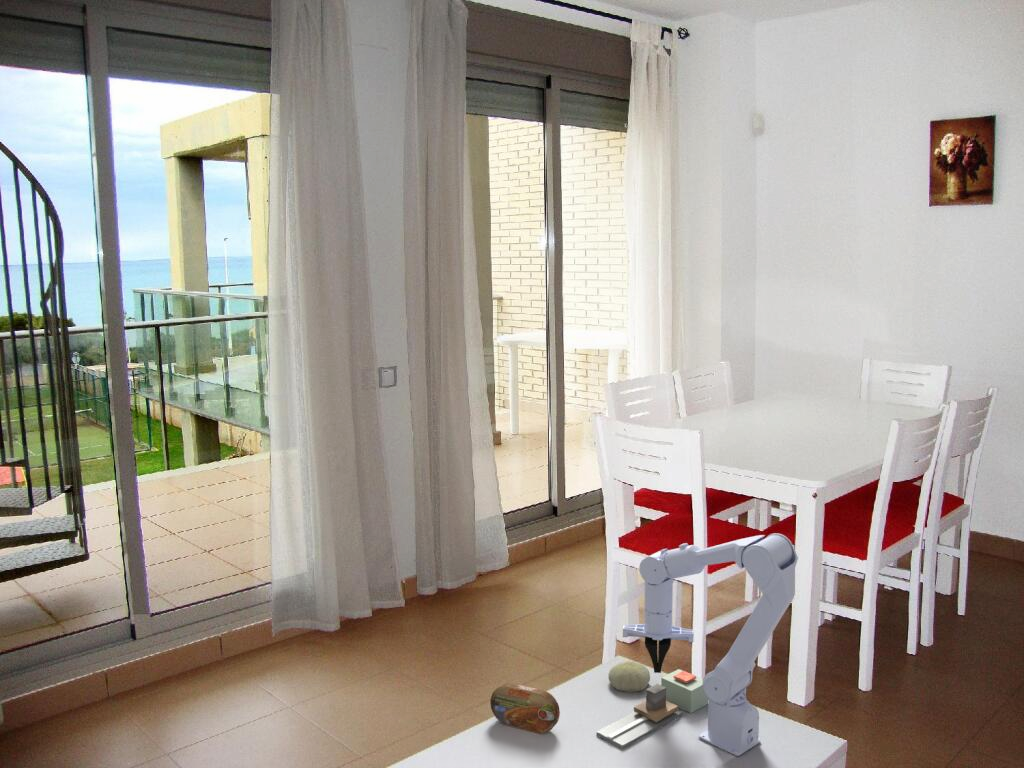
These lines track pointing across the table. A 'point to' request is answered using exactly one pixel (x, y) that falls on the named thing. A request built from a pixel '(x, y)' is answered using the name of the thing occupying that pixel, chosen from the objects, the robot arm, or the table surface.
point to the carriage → (656, 704)
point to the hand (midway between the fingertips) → (657, 670)
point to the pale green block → (684, 692)
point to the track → (633, 728)
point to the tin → (525, 708)
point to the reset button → (684, 677)
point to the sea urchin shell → (629, 676)
